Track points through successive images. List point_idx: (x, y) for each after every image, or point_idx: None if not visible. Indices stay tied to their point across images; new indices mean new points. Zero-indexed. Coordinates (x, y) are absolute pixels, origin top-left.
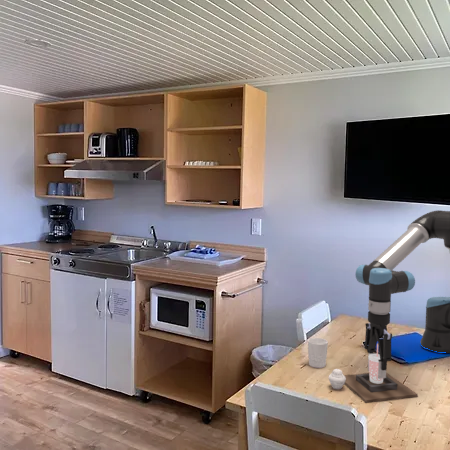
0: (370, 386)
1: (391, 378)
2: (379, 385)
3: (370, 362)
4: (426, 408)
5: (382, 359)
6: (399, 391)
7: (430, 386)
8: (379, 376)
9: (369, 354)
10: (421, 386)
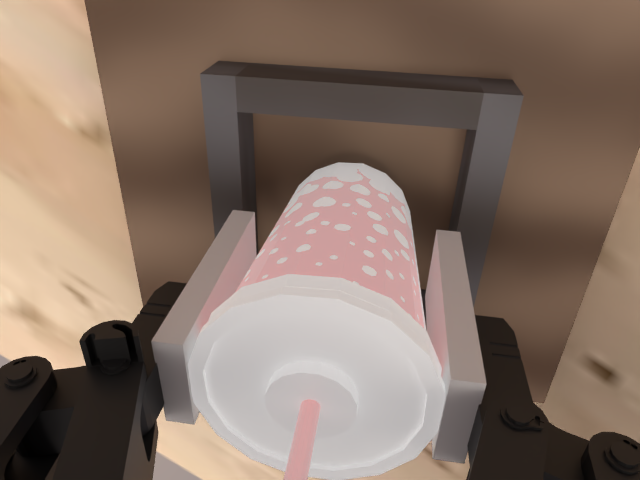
0: (213, 74)
1: None
2: (220, 172)
3: (323, 262)
4: (15, 289)
5: (85, 375)
6: None
7: (276, 469)
8: (226, 225)
9: (449, 372)
10: None
